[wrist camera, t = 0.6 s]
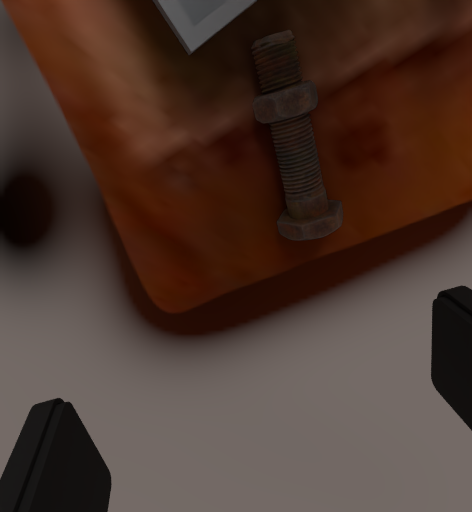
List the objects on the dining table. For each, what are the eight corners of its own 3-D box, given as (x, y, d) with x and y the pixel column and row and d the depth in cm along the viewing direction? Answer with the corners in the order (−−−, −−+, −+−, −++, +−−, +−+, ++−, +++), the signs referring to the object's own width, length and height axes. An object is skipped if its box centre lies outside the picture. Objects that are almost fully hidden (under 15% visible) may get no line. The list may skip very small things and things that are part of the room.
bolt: (268, 39, 30) (306, 212, 36) (220, 53, 28) (269, 235, 34) (326, 16, 25) (358, 218, 32) (273, 30, 23) (319, 245, 29)
